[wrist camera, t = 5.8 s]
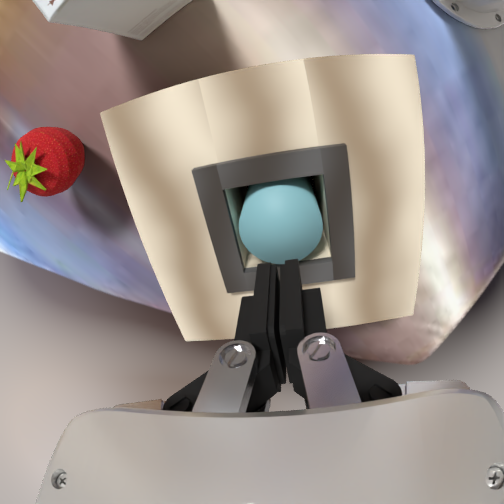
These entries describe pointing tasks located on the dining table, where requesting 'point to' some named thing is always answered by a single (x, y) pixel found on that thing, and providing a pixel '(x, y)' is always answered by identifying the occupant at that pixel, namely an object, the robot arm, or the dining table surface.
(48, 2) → the supplement box
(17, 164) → the strawberry
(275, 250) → the teal peg
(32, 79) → the dining table surface
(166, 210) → the collar block
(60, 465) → the robot arm
